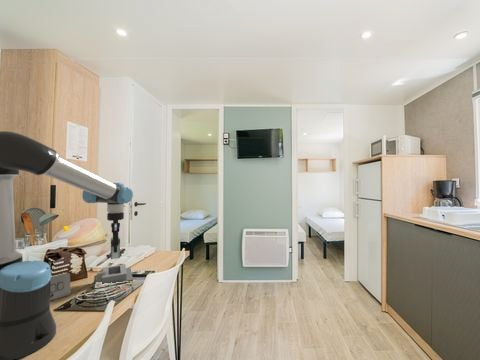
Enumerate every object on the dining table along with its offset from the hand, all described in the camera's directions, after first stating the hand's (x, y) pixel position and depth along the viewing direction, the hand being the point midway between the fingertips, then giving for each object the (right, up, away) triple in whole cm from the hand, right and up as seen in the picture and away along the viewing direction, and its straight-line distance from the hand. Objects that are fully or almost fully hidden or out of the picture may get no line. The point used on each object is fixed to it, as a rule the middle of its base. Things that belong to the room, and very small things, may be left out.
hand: (115, 256), depth 111 cm
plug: (0, 0, 0) cm, 0 cm away
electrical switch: (-14, -11, -19) cm, 26 cm away
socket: (0, -11, -1) cm, 11 cm away
